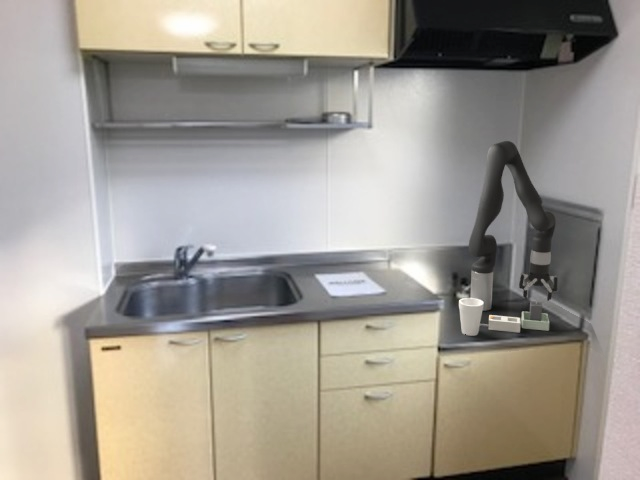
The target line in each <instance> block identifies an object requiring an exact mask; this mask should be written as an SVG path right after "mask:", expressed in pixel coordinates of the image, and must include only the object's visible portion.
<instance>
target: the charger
mask: <svg viewBox="0 0 640 480" xmlns="http://www.w3.org/2000/svg"><path fill="white" fill-rule="evenodd" d="M529 303H530V304H529V312H530V314H529V319H530V320H533V321H541V317H542V313H543V302H542V301H534V300H533V301H532V300H530V302H529Z"/></svg>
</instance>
